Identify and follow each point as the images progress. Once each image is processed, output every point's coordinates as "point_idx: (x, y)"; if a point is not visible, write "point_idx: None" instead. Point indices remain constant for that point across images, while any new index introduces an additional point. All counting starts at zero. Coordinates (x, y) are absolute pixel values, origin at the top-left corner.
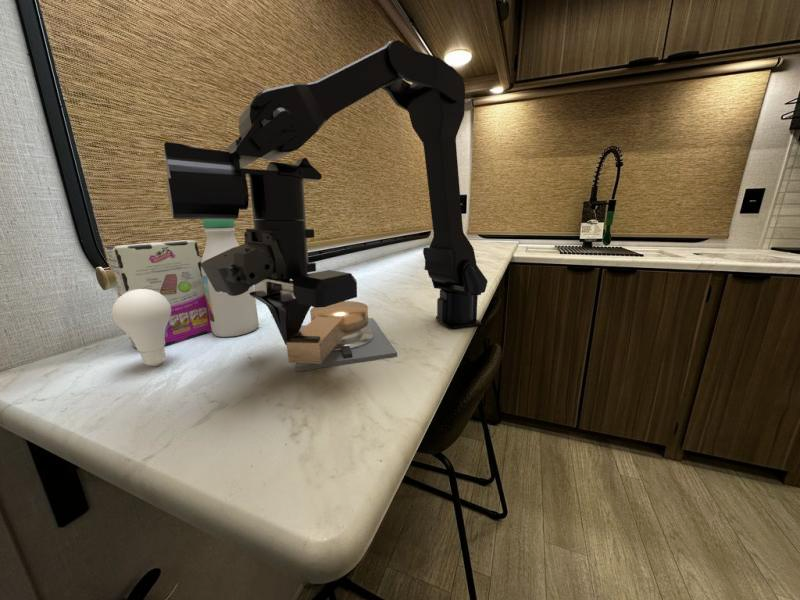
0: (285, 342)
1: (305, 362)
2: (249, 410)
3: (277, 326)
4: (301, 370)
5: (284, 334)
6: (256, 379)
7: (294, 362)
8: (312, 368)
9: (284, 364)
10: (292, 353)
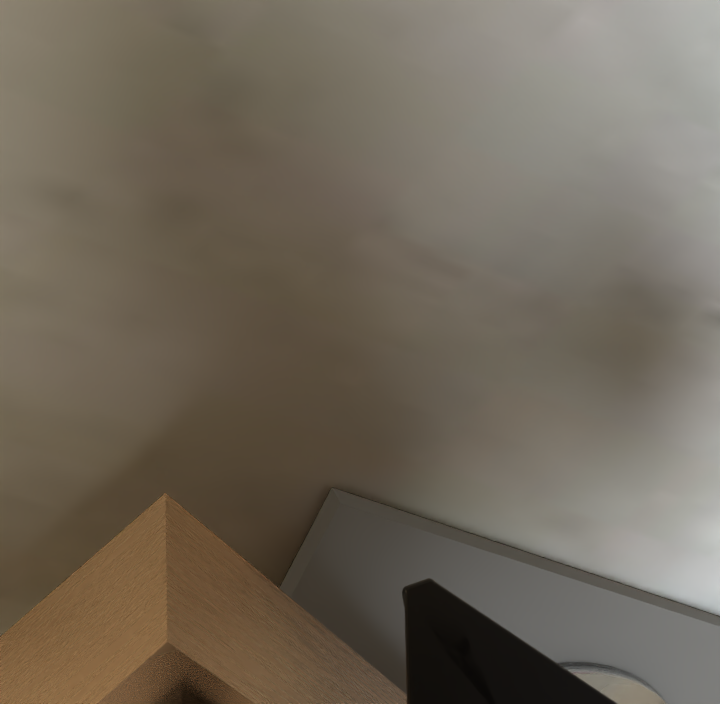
0: (426, 596)
1: (30, 611)
2: (8, 37)
3: (585, 687)
4: (317, 518)
5: (445, 666)
6: (427, 249)
7: (119, 533)
8: (282, 582)
9: (483, 459)
10: (119, 587)
